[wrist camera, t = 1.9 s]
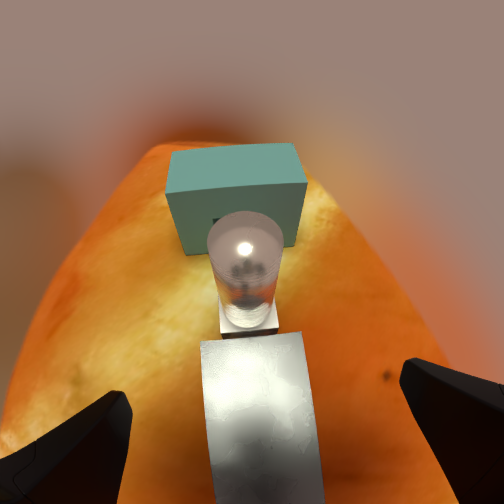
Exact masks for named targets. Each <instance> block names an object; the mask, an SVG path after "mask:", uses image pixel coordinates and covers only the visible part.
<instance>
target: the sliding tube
mask: <svg viewBox="0 0 504 504" xmlns="http://www.w3.org/2000/svg"><path fill="white" fill-rule="evenodd" d="M283 246H284V238H283V234H282V231H281V229H280V228H279V226H278V225H277V224H276V223H275V222H274V221H273V220H272V219H271V218H269V217H268V216H266V215H264V214H261V213H258V212H253V211H238V212H234V213H231V214H228V215H226V216H224V217H222V218H221V219H219V220H218V221H217V222H216V223H215V224H214V225H213V226H212V228H211V230H210V231H209V234H208V238H207V248H208V252H209V256H210V261H211V265H212V269H213V273H214V277H215V281H216V286H217V290H218V299H219V315H220V330H221V335H222V338H223V340H226V339H238V338H249V337H259V336H269V335H277V332H278V329H279V324H278V318H277V311H276V304H275V298H274V294H275V289H276V284H277V279H278V273H279V268H280V263H281V257H282V252H283Z"/></svg>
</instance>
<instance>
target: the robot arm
mask: <svg viewBox="0 0 504 504" xmlns="http://www.w3.org/2000/svg"><path fill="white" fill-rule="evenodd" d="M399 383H400V387H401V389H402V391H403V393H404V396H405V398H406V400H407V402H408V405H409V407H410V409H411V412H412V414H413V416H414V418H415V420H416V422H417V424H418V426H419V427H420V429H421V431H422V433H423V434H424V436H425V438H426V440H427V442H428V443H429V445H430V447H431V449H432V451H433V453H434V454H435V456H436V458H437V460H438V462H439V464H440V466H441V468H442V470H443V472H444V474H445V476H446V478H447V480H448V482H449V484H450V486H451V488H452V490H453V492H454V494H455V496H456V498H457V500H458V503H459V504H504V385H502V384H497V383H495V382H492V381H488V380H485V379H481V378H478V377H475V376H471V375H468V374H465V373H462V372H458V371H455V370H452V369H449V368H446V367H443V366H440V365H437V364H434V363H431V362H428V361H425V360H422V359H419V358H411V359H408V360H406V361H405V362H404V364H403V368H402V371H401V375H400V379H399ZM132 416H133V413H132V409H131V406H130V404H129V402H128V400H127V397H126V395H125V393H124V392H122V391H115V390H112V391H110V392H108V393H107V394H105V395H104V396H102V397H101V398H99V399H98V400H96V401H95V402H94V403H92V404H91V405H89V406H88V407H86V408H85V409H83V410H82V411H80V412H79V413H77V414H76V415H74V416H73V417H71V418H70V419H68V420H66V421H65V422H63V423H62V424H60V425H59V426H57V427H56V428H54V429H53V430H51V431H49V432H48V433H46V434H45V435H43V436H42V437H40V438H38V439H37V440H36V441H33V442H32V443H30V444H29V445H27V446H25V447H24V448H22V449H20V450H18V451H17V452H15V453H13V454H11V455H8V456H6V457H4V458H2V459H0V504H117V499H118V494H119V489H120V484H121V480H122V475H123V471H124V467H125V463H126V458H127V454H128V447H129V438H130V431H131V423H132Z"/></svg>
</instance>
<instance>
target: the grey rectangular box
mask: <svg viewBox="0 0 504 504" xmlns="http://www.w3.org/2000/svg"><path fill="white" fill-rule="evenodd" d="M200 348H201V366H202V381H203V395H204V407H205V418H206V428H207V438H208V447H209V455H210V463H211V471H212V478H213V485H214V492H215V499H216V504H325V495H324V486H323V477H322V468H321V460H320V452H319V444H318V436H317V429H316V422H315V415H314V408H313V401H312V394H311V388H310V381H309V375H308V369H307V363H306V357H305V351H304V345H303V339H302V333H301V331H300V332H293V333H285V334H277V335H269V336H259V337H249V338H238V339H226V340H212V341H200Z"/></svg>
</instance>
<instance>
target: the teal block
mask: <svg viewBox="0 0 504 504" xmlns="http://www.w3.org/2000/svg"><path fill="white" fill-rule="evenodd" d="M307 184H308V182H307V179H306V176H305V173H304V171H303V168H302V165H301V163H300V160H299V158H298V155H297V152H296V150H295V147H294V145H293V143H274V144H273V143H272V144H249V145H233V146H221V147H210V148H200V149H191V150H183V151H175V152H172V156H171V161H170V166H169V172H168V178H167V184H166V190H165V195H166V198H167V201H168V205H169V208H170V211H171V214H172V217H173V220H174V223H175V226H176V229H177V232H178V234H179V237H180V240H181V243H182V246H183V249H184V251H185V254H186V255H197V254H209V252H208V248H207V238H208V234H209V231H210V230H211V228H212V226H213V225H214V224H215V223H216V222H217V221H218V220H219V219H221V218H222V217H224V216H226V215H228V214H231V213H234V212H238V211H253V212H258V213H261V214H264V215H266V216H268V217H269V218H271V219H272V220H273V221H274V222H275V223H276V224H277V225H278V226H279V228H280V229H281V231H282V234H283V238H284V246H283V247H291V246H294V243H295V239H296V234H297V230H298V226H299V221H300V217H301V212H302V207H303V203H304V198H305V193H306V189H307Z"/></svg>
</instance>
